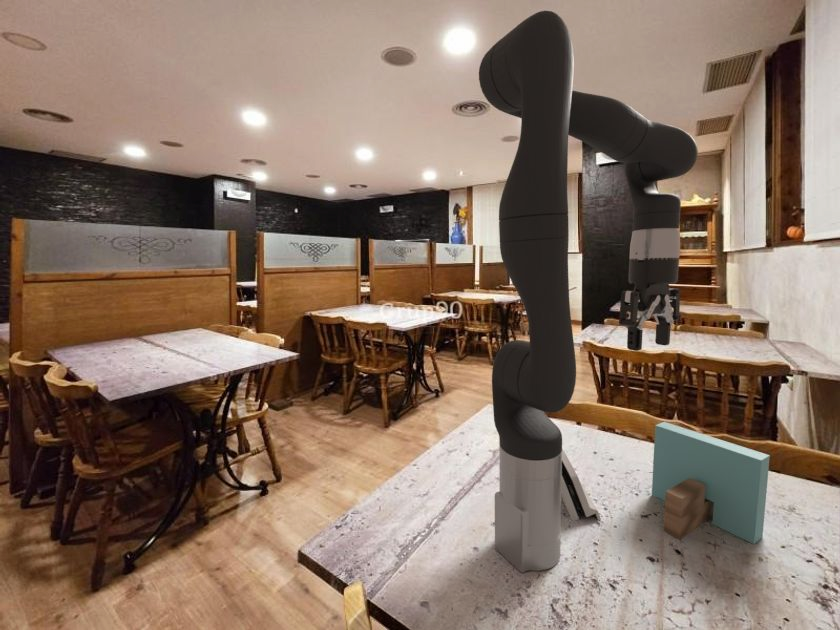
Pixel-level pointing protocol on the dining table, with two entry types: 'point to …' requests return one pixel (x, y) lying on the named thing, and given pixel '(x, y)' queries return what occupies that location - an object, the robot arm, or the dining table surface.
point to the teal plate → (714, 476)
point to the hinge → (575, 492)
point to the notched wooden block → (686, 508)
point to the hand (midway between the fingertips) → (648, 347)
